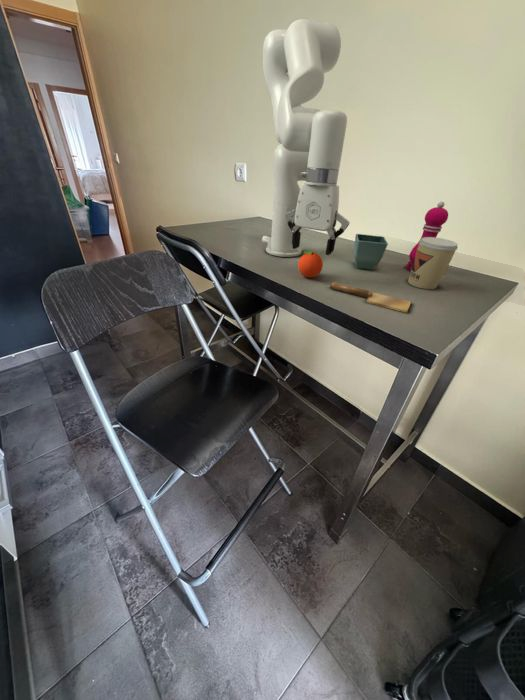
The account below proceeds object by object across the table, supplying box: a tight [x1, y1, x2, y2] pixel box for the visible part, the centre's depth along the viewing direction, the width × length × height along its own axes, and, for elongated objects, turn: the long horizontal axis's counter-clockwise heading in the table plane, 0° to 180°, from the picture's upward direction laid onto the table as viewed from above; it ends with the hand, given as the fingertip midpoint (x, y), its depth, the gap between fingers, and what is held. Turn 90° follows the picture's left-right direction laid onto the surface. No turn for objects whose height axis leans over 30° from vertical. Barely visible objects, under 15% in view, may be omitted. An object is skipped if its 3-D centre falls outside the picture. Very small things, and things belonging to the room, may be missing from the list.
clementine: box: [295, 251, 324, 278], centre depth 80 cm, size 8×7×7 cm
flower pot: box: [353, 233, 389, 271], centre depth 90 cm, size 9×9×9 cm
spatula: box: [329, 281, 412, 314], centre depth 72 cm, size 20×6×2 cm, turn 59°
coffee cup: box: [407, 237, 459, 290], centre depth 79 cm, size 9×9×12 cm
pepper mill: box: [406, 200, 449, 272], centre depth 87 cm, size 7×7×20 cm
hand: (311, 250), depth 78 cm, fingers open, 9 cm apart
